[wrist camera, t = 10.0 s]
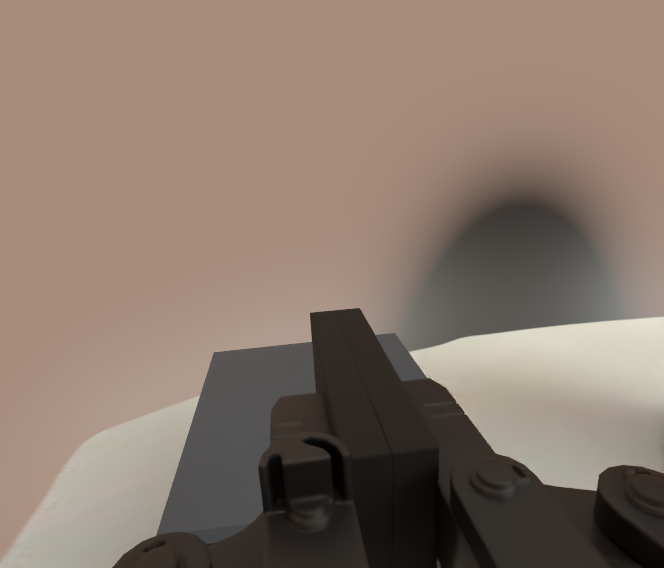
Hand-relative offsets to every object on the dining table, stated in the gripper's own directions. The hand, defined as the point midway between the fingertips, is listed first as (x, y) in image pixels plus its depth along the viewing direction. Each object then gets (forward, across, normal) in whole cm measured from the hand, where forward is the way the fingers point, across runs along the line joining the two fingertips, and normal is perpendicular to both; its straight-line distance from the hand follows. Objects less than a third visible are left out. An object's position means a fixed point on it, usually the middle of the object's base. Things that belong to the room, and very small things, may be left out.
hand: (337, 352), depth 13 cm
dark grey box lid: (+12, 0, -9) cm, 15 cm away
